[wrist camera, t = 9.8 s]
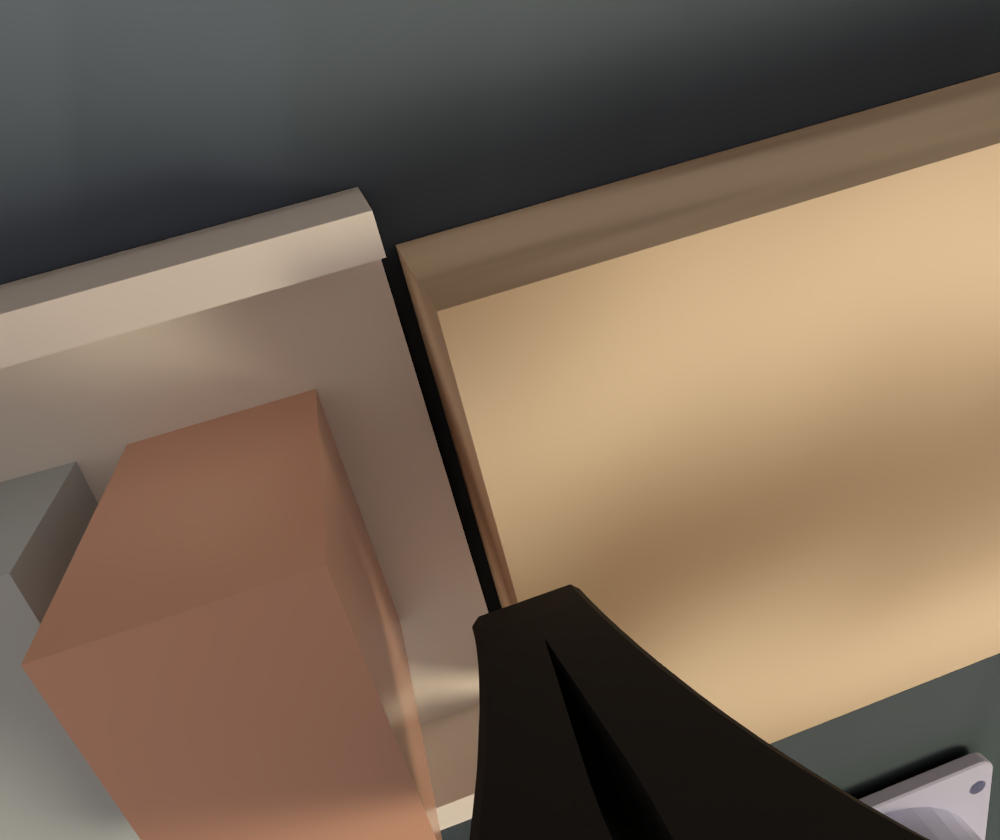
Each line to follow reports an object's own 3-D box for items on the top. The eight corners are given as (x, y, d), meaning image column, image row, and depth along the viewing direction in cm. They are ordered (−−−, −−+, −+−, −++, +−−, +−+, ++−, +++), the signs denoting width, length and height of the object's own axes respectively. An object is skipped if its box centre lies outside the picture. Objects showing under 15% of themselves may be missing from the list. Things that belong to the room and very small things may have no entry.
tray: (512, 693, 16) (546, 789, 14) (-78, 912, 15) (-145, 1057, 13) (357, 186, 11) (372, 210, 9) (-549, 435, 10) (-794, 535, 8)
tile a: (447, 865, 10) (218, 953, 9) (400, 622, 14) (244, 676, 14) (326, 565, 8) (20, 666, 7) (316, 388, 12) (126, 444, 12)
